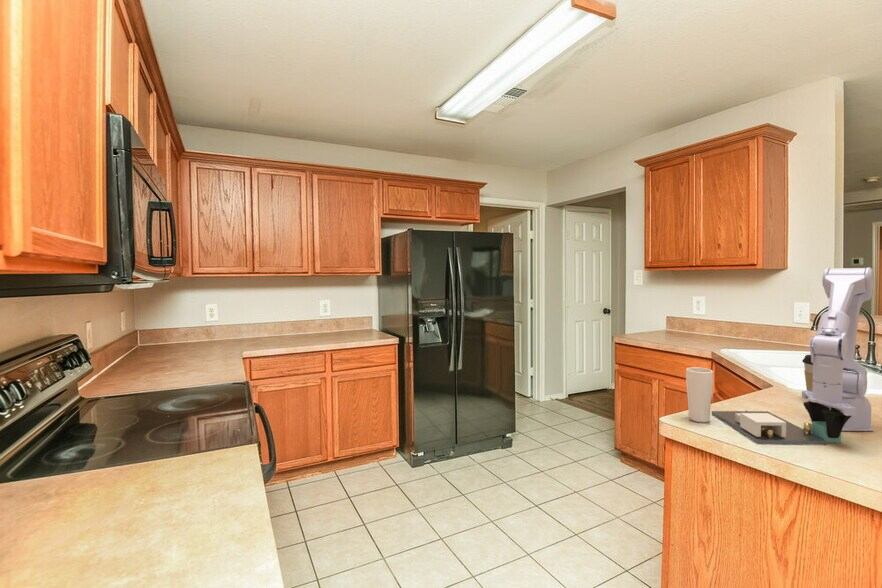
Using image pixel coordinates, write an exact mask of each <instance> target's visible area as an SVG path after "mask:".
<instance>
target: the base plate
mask: <svg viewBox="0 0 882 588" xmlns="http://www.w3.org/2000/svg"><path fill="white" fill-rule="evenodd" d="M735 413H769V414H771V415H772V416H774V417H776V418H778V419H780V420H782V421H784V422H786V437H781V436H779V435H777V434H775V433H774V432H773V429H767V428H765V425H761V437H756V436H755V435H753V434H751V433H750V432H748V431H746V430H745V429H743V428H742V427H740V423H739V422H737V421H736V420H735ZM711 415H712V416H713V417H715V418H717V419H718V420H720V421H721V422H723V423H724V424H725V425H728V426H729V427H731V428H732V429H734V430H736V431H737V432H739V433H740V434H741V435H742V436H745V437H746V438H747V439H750V440H751V441H752V442H754V443H756V444H757V445H803V444H826V445H827V442H826V440H824V439H822V438H820V437H818V436H816V435H814V434H812V423H811V422H803V428H802V427H799V426H798V425H796V424H793V423H792V422H790V421H787V419H786V420H785V419H784V418H782V417H780V416H778V415H776V414H774V413H772V412H770V411H768V410H767V411H764V410H763V411H761V410H760V411H759V410H757V411H755V410H754V411H753V410H751V411H750V410H748V411H747V410H745V411H744V410H742V411H741V410H739V411H738V410H735V411H734V410H733V411H732V410H712V411H711Z"/></svg>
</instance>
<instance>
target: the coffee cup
mask: <svg viewBox="0 0 882 588" xmlns="http://www.w3.org/2000/svg"><path fill="white" fill-rule="evenodd" d="M801 362H802V363H803V364H804V380H805V386H806V387H805V388H806V391H812V386H813V363H811V354H805V355H804V358H803V359H802V361H801Z"/></svg>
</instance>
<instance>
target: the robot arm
mask: <svg viewBox="0 0 882 588" xmlns="http://www.w3.org/2000/svg"><path fill="white" fill-rule="evenodd" d="M821 278H822V279H821V281H822V287H823V290H824V293H825V295H826V296H827V299H829V300H828V308H827V309H828V310H827V311H825V312H823V313H821V315H820V318H819V319H820V320H819V322H818V326H817V329H816V334H815V335H812V336H811V338H810V342H809V352H810V355H811V363H813V386H812V391H807V390H801V398H802V399H805V400H807V401H804V402H803V403H802V405H803V407H804V408H805V410H806V411H807V413H808V416H809V418H810V421H811V422H812V421H826V426H827V435H828V437H829V438H839V436H840V433H841V434H842V431H843V432H844V431H845V432H846V431H847V432H852V431H853V432H873V431H874V428H872V427H871V426H872V424H871V423H872V405H871V402H870V400H869V399H868V398H867V397H866V396H865V395H866V394H867V389H868V371H867V368H866V367H864V366H863V365H862V364H860V363H859V362H857V360H855V353H856V346H857V345H856V343H857V337H858V335H857V334H858V326H859V318H860V310H861V307H862V305H863V303H864V302H868V301H869V300H871V299H872V296H873V295H874V294H873V293H874V285H875V284H874V283H875V271H874V269H873V268H872V267H868V266H867V267H853V268H852V267H851V268H849V267H848V268H847V267H845V268H844V267H843V268H841V267H840V268H839V267H837V268H830V267H827V268H825V269H824V270H823V271H822V277H821Z"/></svg>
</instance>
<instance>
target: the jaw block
mask: <svg viewBox="0 0 882 588" xmlns="http://www.w3.org/2000/svg"><path fill="white" fill-rule="evenodd" d="M811 424H812V430H811V433H812V434H814V435H816V436H818V437H820V438H822V439H824V440H826V443H829V442H841V443H842V432H841V433H840V436H839V438H829V437H828V435H827V426H826V421H811Z"/></svg>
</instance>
